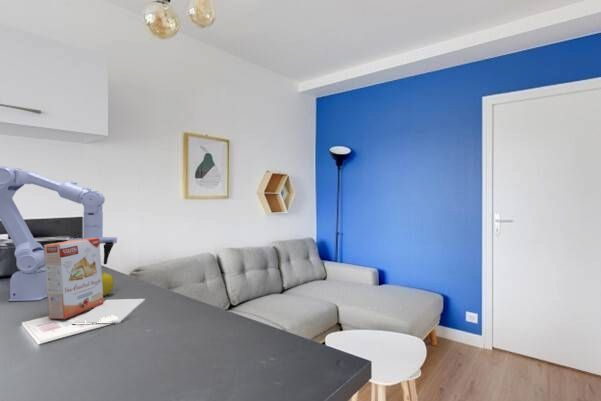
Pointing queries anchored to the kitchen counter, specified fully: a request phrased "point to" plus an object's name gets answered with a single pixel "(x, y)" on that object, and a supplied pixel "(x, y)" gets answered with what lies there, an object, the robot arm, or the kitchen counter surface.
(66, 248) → the cracker box
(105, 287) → the lemon
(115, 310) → the white flat panel
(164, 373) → the kitchen counter surface
